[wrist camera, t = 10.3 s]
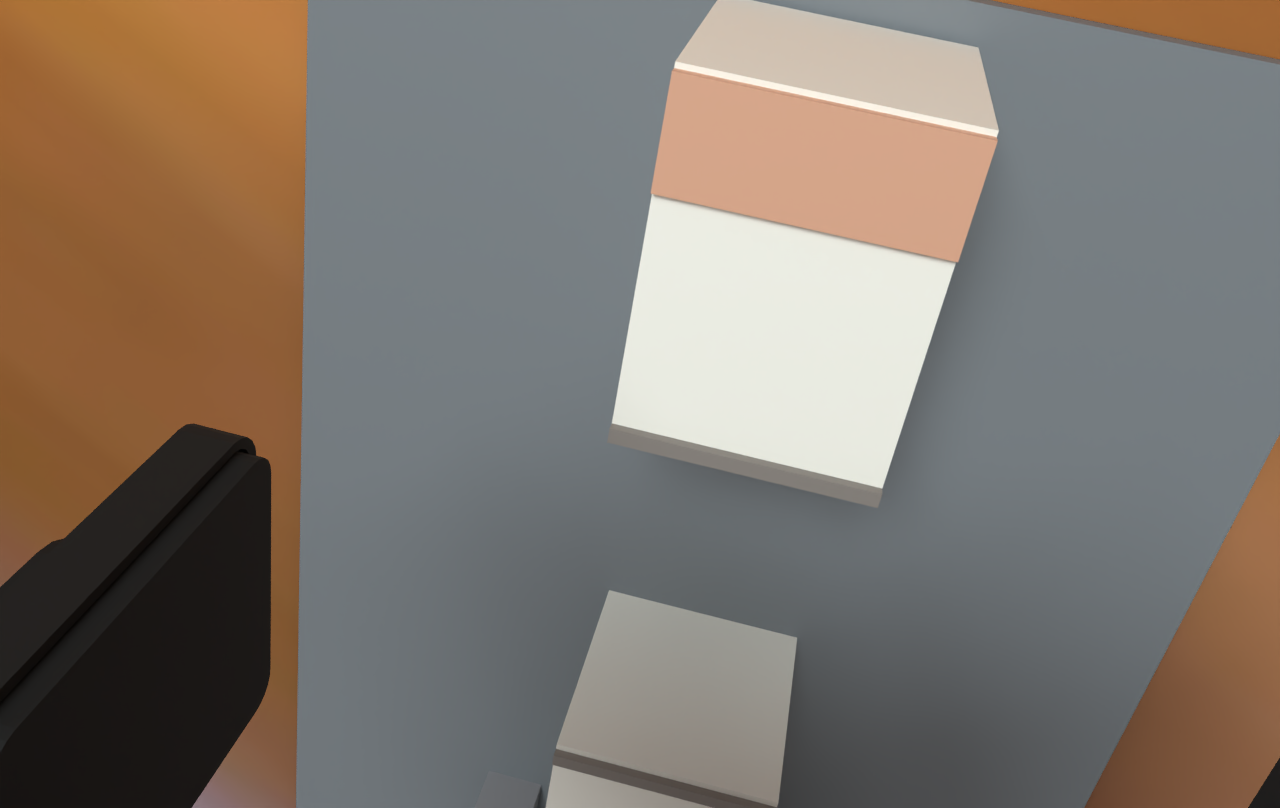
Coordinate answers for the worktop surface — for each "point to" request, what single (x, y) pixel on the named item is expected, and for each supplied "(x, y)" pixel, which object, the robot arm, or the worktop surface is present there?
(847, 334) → the white and peach box
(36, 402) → the worktop surface
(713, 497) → the grey board with blocks
